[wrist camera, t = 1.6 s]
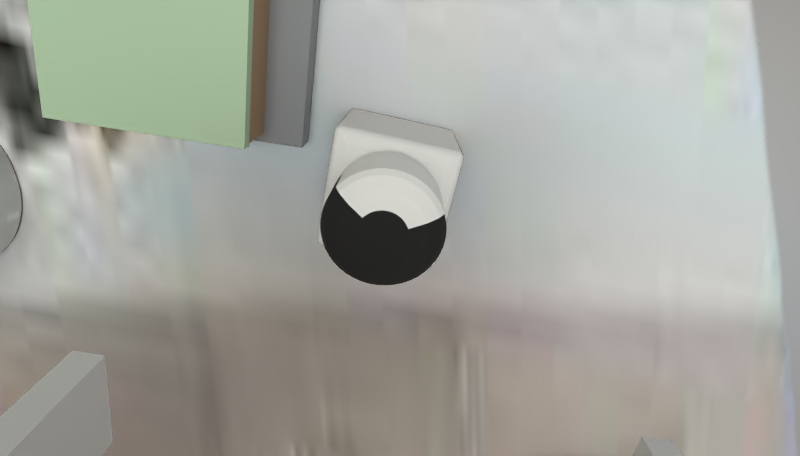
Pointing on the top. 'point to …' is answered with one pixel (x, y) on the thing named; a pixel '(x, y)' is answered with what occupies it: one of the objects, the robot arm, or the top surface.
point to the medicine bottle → (388, 196)
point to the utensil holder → (8, 202)
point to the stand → (179, 67)
